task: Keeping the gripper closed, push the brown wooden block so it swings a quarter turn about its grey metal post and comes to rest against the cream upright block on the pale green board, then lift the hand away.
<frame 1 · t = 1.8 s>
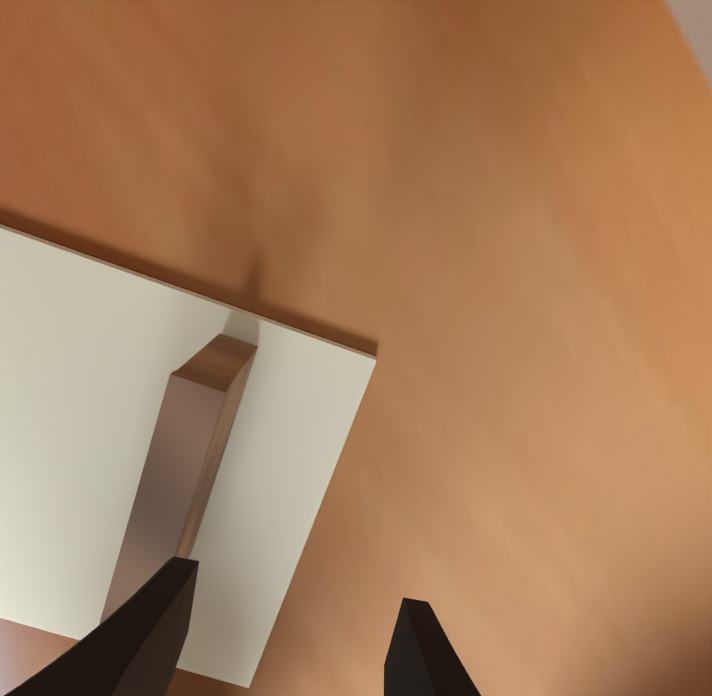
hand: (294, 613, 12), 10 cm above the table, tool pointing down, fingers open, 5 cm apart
brown wooden block: (183, 482, 19), point 4 cm above the table, hinge at 0.0°
board: (84, 461, 22), on the table
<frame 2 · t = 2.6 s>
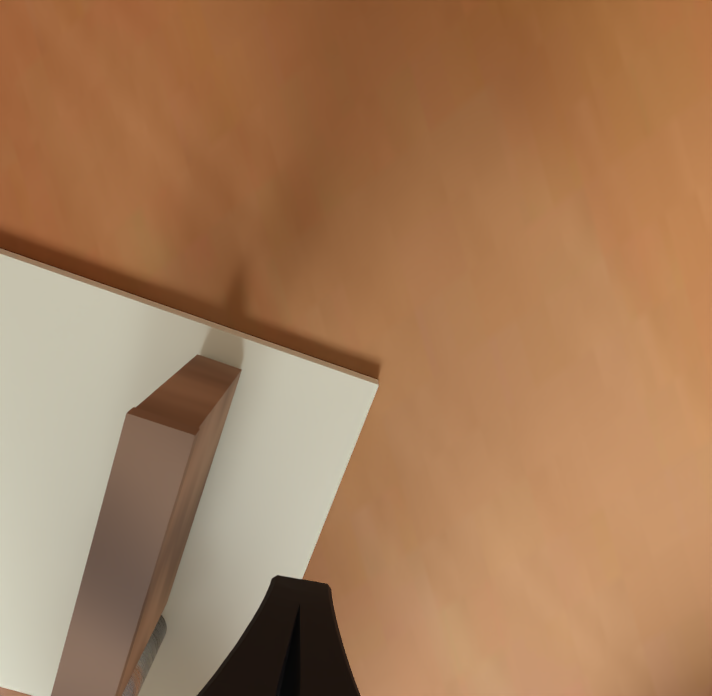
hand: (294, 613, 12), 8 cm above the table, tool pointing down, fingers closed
brown wooden block: (152, 531, 16), point 4 cm above the table, hinge at 0.0°
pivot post: (145, 614, 21), resting on board
board: (45, 498, 20), on the table
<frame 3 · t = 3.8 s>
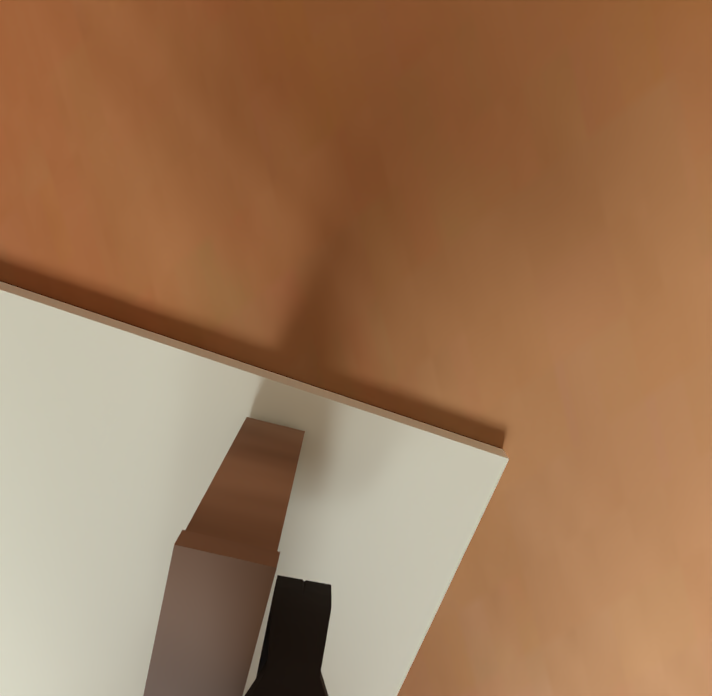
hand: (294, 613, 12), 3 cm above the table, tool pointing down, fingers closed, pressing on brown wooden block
brown wooden block: (211, 659, 12), point 4 cm above the table, hinge at 4.6°, touching gripper
board: (82, 594, 16), on the table
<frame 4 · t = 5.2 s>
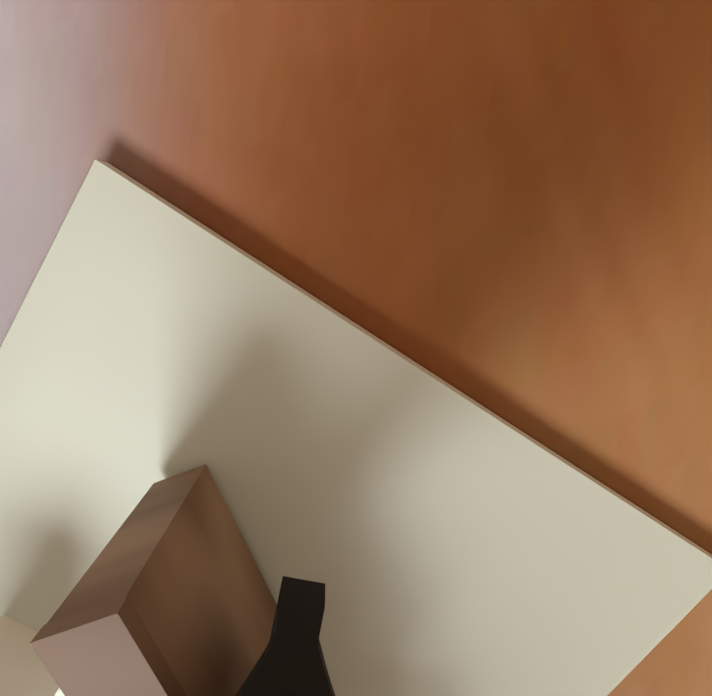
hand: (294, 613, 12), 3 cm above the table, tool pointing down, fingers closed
cream upright block: (36, 647, 16), resting on board
board: (277, 604, 16), on the table
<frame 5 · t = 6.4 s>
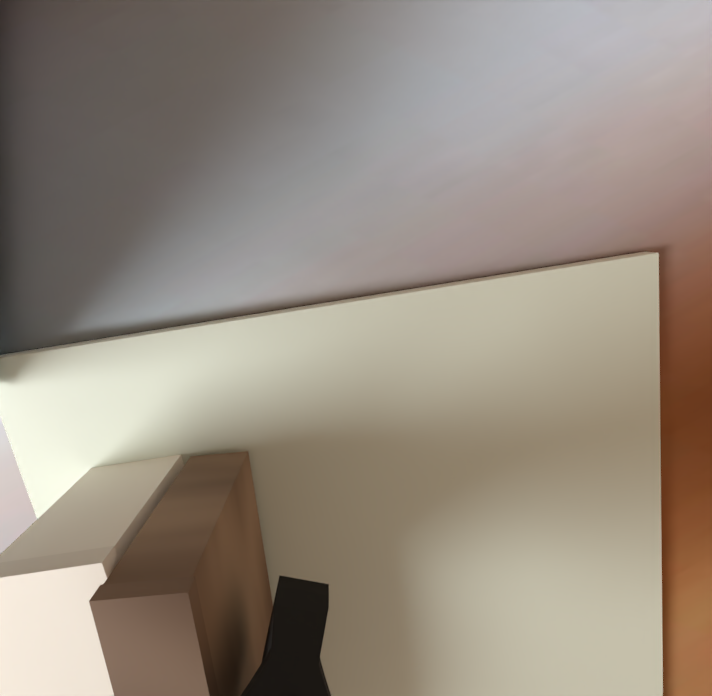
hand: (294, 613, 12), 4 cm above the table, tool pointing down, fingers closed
cream upright block: (155, 491, 15), resting on board
brown wooden block: (224, 691, 12), point 4 cm above the table, hinge at 86.3°, touching gripper, cream upright block
board: (372, 620, 16), on the table
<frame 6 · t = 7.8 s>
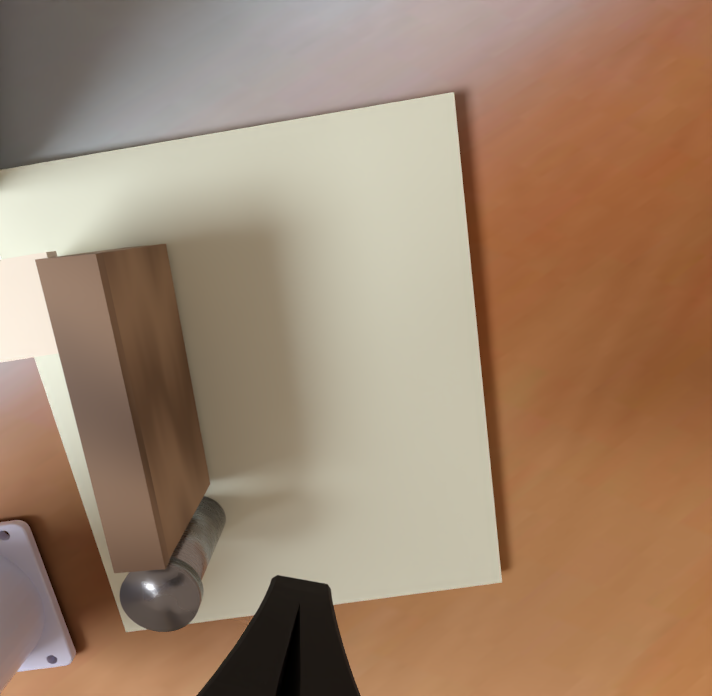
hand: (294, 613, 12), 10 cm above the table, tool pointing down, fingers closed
cream upright block: (103, 285, 20), resting on board
brown wooden block: (142, 396, 18), point 4 cm above the table, hinge at 86.3°, touching cream upright block
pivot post: (205, 510, 23), resting on board
board: (268, 395, 21), on the table
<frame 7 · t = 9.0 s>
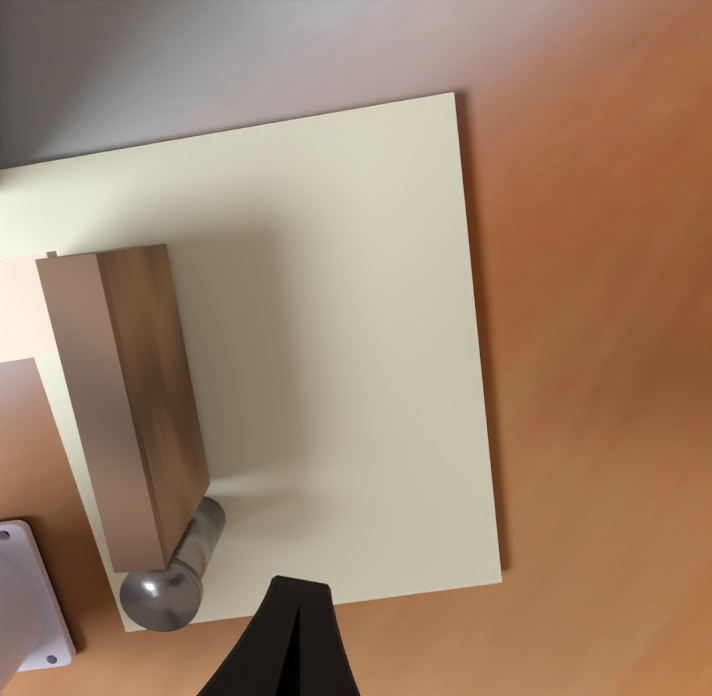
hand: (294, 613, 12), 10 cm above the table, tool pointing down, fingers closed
cream upright block: (103, 285, 20), resting on board
brown wooden block: (142, 396, 18), point 4 cm above the table, hinge at 86.3°, touching cream upright block
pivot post: (205, 510, 23), resting on board
board: (268, 395, 21), on the table
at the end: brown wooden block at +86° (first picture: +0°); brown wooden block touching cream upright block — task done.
